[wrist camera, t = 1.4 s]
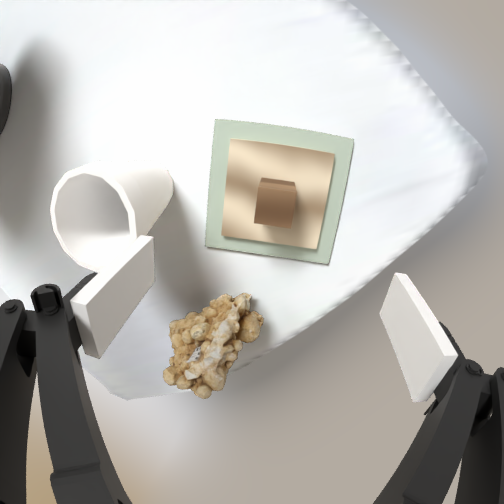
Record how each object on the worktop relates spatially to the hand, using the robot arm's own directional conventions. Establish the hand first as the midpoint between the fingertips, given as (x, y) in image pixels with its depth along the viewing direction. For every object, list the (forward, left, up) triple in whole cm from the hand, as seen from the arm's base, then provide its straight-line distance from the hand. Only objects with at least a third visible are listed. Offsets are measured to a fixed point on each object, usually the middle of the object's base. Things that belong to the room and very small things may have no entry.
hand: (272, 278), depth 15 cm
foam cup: (+1, -15, -19) cm, 24 cm away
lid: (0, 0, -18) cm, 18 cm away
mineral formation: (+17, -5, -19) cm, 26 cm away
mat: (0, 0, -19) cm, 19 cm away
